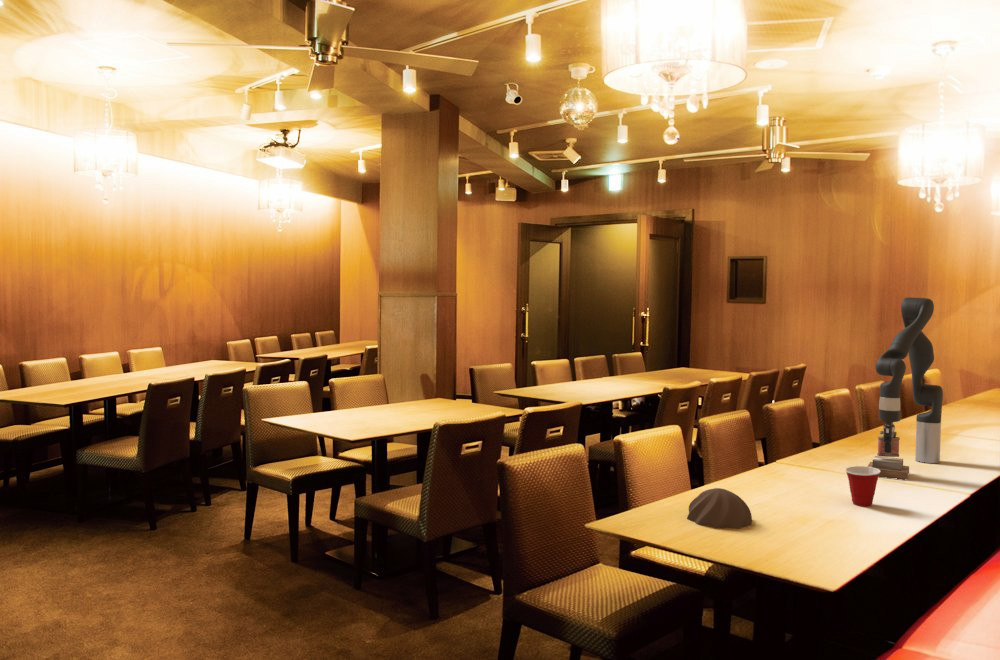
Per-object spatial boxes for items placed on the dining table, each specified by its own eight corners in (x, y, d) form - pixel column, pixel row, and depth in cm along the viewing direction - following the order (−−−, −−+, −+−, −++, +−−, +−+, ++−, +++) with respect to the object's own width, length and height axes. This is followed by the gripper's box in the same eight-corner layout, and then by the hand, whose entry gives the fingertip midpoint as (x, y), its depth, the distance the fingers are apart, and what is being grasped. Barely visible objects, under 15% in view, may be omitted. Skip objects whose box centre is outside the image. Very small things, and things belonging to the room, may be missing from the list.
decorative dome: (705, 531, 218) (706, 497, 218) (676, 513, 237) (676, 481, 237) (765, 528, 222) (766, 495, 222) (731, 510, 241) (732, 479, 241)
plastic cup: (836, 501, 252) (837, 466, 252) (860, 499, 256) (861, 464, 256) (862, 510, 242) (863, 473, 242) (887, 507, 246) (888, 471, 246)
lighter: (897, 455, 296) (897, 430, 296) (900, 457, 292) (901, 431, 292) (875, 454, 297) (876, 429, 296) (879, 456, 293) (880, 431, 293)
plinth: (870, 469, 304) (870, 454, 304) (909, 473, 297) (909, 458, 297) (866, 475, 293) (866, 460, 292) (906, 480, 285) (906, 464, 285)
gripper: (898, 411, 286) (897, 455, 286) (901, 407, 298) (900, 449, 299) (877, 409, 290) (875, 453, 290) (880, 405, 302) (879, 447, 303)
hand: (888, 451), depth 295 cm, fingers closed on lighter, 4 cm apart
